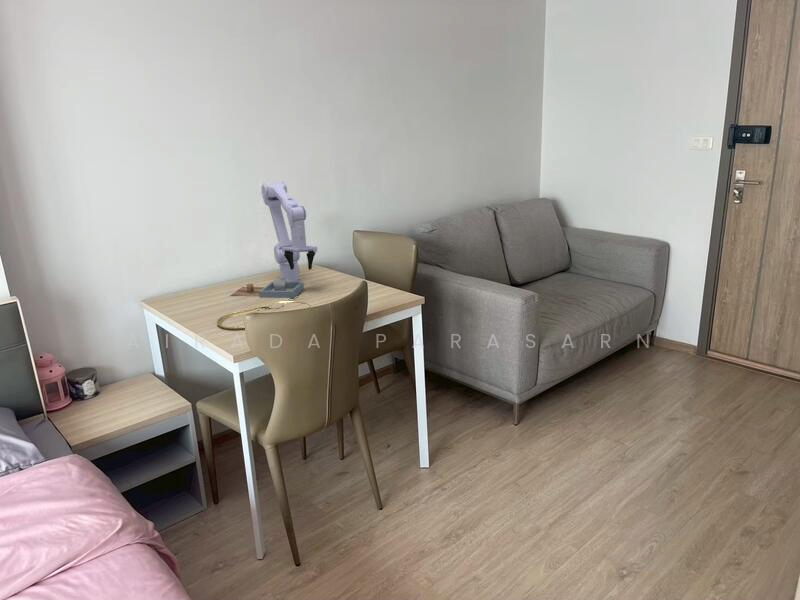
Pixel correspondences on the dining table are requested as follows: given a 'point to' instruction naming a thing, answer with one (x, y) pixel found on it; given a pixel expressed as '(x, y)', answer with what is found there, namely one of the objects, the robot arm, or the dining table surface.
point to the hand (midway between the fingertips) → (301, 269)
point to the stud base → (244, 292)
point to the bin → (296, 287)
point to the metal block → (281, 284)
